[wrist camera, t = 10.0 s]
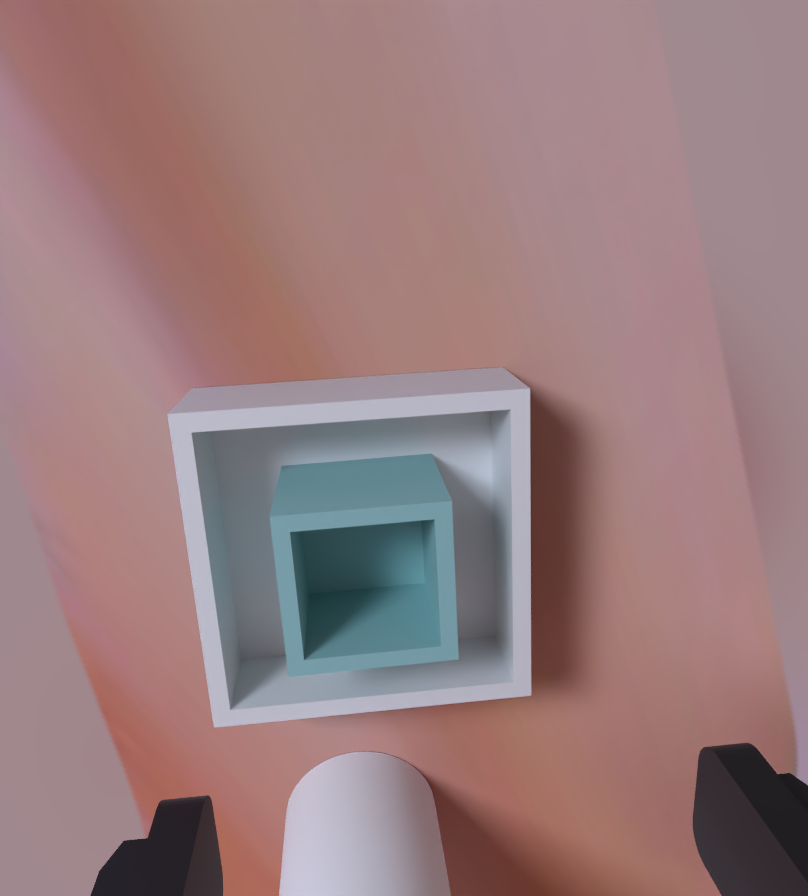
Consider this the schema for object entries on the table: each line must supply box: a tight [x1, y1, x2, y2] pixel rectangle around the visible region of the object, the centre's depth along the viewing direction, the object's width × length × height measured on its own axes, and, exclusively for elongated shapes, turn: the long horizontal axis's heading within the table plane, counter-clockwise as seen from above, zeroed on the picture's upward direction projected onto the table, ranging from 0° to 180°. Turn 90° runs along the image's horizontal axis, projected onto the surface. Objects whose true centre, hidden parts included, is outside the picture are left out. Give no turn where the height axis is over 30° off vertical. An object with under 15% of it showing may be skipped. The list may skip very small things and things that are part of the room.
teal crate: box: [269, 454, 459, 677], centre depth 27 cm, size 6×6×6 cm
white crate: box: [168, 367, 531, 728], centre depth 29 cm, size 12×12×4 cm
